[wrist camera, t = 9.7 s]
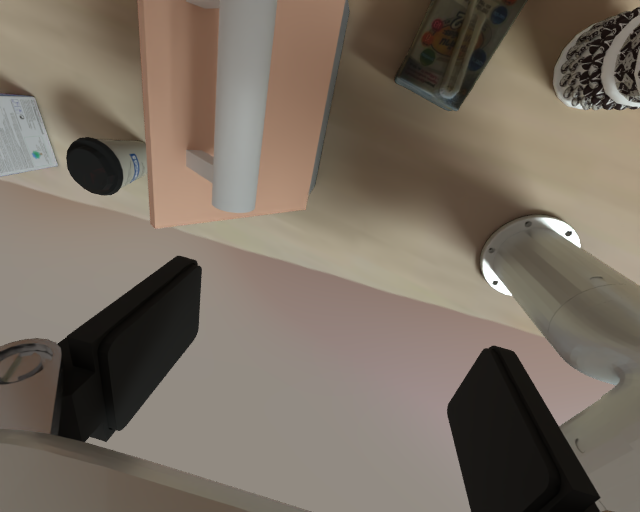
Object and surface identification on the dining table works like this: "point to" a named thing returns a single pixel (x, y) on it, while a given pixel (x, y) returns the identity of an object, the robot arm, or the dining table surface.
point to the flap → (233, 104)
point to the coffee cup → (106, 163)
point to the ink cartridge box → (23, 136)
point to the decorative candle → (602, 65)
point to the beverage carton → (455, 48)
